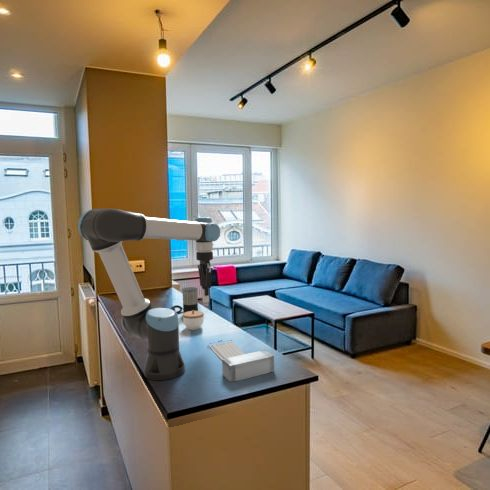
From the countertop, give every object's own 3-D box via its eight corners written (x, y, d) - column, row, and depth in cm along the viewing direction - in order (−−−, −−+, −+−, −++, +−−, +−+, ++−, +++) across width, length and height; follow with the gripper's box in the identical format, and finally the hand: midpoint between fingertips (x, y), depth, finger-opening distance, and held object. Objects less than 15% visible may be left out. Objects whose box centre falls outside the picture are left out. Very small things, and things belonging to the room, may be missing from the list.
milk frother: (200, 314, 223) (199, 289, 222) (173, 318, 218) (172, 292, 216) (194, 308, 237) (193, 285, 235) (168, 311, 231) (167, 287, 229)
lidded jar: (208, 327, 198) (207, 310, 197) (191, 332, 191) (190, 314, 190) (195, 323, 206) (195, 306, 205) (179, 328, 198) (178, 310, 197)
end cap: (230, 382, 136) (230, 365, 135) (222, 374, 142) (222, 359, 141) (274, 371, 144) (274, 355, 143) (264, 364, 150) (264, 349, 150)
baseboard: (230, 376, 142) (260, 371, 146) (230, 369, 141) (260, 363, 146) (206, 349, 170) (231, 345, 175) (206, 342, 170) (231, 338, 174)
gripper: (217, 252, 171) (219, 304, 173) (206, 249, 183) (208, 298, 185) (201, 253, 168) (203, 306, 170) (191, 250, 179) (193, 300, 181)
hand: (205, 302), depth 177 cm, fingers closed
